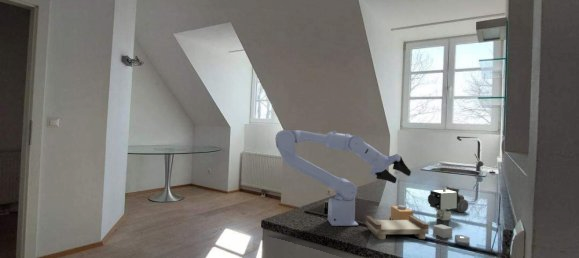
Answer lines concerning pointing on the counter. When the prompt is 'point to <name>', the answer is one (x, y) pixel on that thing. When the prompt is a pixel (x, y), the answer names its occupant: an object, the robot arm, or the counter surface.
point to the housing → (400, 213)
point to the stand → (397, 227)
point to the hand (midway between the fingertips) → (402, 177)
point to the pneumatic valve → (443, 202)
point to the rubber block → (442, 231)
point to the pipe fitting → (463, 203)
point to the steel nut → (462, 240)
